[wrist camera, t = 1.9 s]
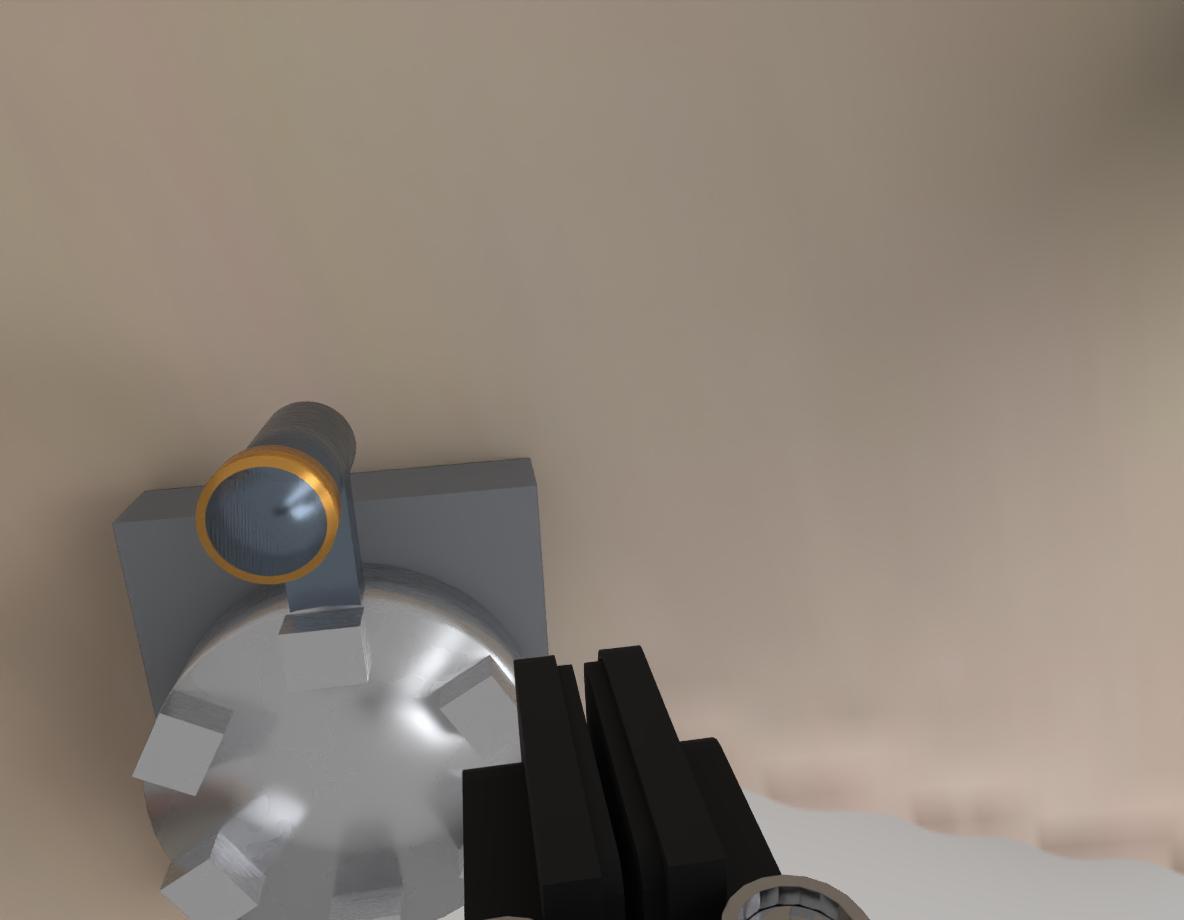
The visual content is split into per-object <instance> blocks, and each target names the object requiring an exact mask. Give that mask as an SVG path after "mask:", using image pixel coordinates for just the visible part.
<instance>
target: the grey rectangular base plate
mask: <svg viewBox="0 0 1184 920" xmlns="http://www.w3.org/2000/svg"><path fill="white" fill-rule="evenodd" d="M350 480H351V487H352V494H353V502H354V509H355V517H356V524H357V531H358V539H359V546H360V553H361V561H362V564H368V565H381V566H390V567H395V568H400V569H405V570H410V571H414V572H417V573H420V574H423V575H426V576H429V577H433V578H436V579H438V580H440V581H442V582H444V583H446V584H448V585H450V586H453V587H455V588H457V589H458V590H460V591H462V592H463V593H465V594H466V595H468V596H469V597H471V598H473V599H474V600H476V601H477V602H478V603H480V604H481V605H482V606H483V607H484V608H485V609H487V610H488V611H489V612H490V613H491V614H493V615H494V616H495V617H496V619H497V620H498V621H499V622H500V623H501V624H502V625H503V626H504V627H505V628H506V630H507V631H508V632H509V633H510V635H511V636H512V638H513V639H514V641H515V642H516V644H517V645H518V647H519V648H520V650H521V652H522V654H523V656H524V658H525V659H526V658H534V657H543V656H549V654H548V639H547V625H546V610H545V596H544V581H543V566H542V552H541V537H540V523H539V508H538V494H537V484H536V480H535V476H534V472H533V468H532V464H531V460H530V458H524V459H513V460H501V461H490V462H478V463H466V464H455V465H443V466H432V467H420V468H408V469H397V470H385V471H373V472H362V473H350ZM204 488H205V486H199V487H188V488H176V489H164V490H153V491H144V492H143V493H142V494H141V495H140V496H139V497H138V498H137V499H136V500H135V501H134V502H133V503H132V504H131V505H130V506H129V507H128V508H127V509H126V510H125V511H124V512H123V513H122V514H121V515H120V516H119V517H118V518H117V519H116V520H115V522H114V523H113V529H114V533H115V538H116V542H117V547H118V551H119V556H120V560H121V564H122V569H123V573H124V578H125V582H126V587H127V591H128V596H129V600H130V605H131V609H132V614H133V618H134V622H135V627H136V631H137V636H138V640H139V645H140V649H141V654H142V658H143V663H144V667H145V672H146V676H147V681H148V685H149V689H150V694H151V698H152V703H153V707H154V712H155V716H156V718H157V716H158V714H159V712H160V710H161V709H162V707H163V705H164V703H165V701H166V699H167V697H168V696H169V694H170V692H171V690H172V688H173V687H174V685H175V683H176V681H177V680H178V678H179V676H180V674H181V672H182V671H183V669H184V667H185V665H186V663H187V662H188V660H189V658H190V656H191V654H192V653H193V651H194V649H195V647H196V646H197V644H198V643H199V642H200V640H201V639H202V638H203V636H204V635H205V634H206V632H207V631H208V630H209V628H210V627H211V626H212V625H213V624H214V623H215V622H216V621H217V620H218V619H219V618H220V617H221V616H222V615H223V614H224V613H225V612H227V611H228V610H229V609H231V608H232V607H233V606H234V605H236V604H237V603H238V602H240V601H241V600H242V599H244V598H245V597H247V596H248V595H250V594H252V593H254V592H255V591H257V590H259V589H261V588H262V587H264V586H266V585H268V584H258V583H253V582H249V581H245V580H242V579H240V578H237V577H235V576H233V575H231V574H230V573H228V572H226V571H225V570H223V569H222V568H221V567H219V566H218V565H217V564H216V563H215V562H214V561H213V560H212V559H211V558H210V556H209V555H208V554H207V553H206V551H205V549H204V548H203V546H202V544H201V541H200V539H199V537H198V533H197V529H196V521H195V518H196V508H197V503H198V500H199V497H200V495H201V493H202V491H203V489H204ZM236 920H244V919H242V918H240V917H239V918H238V919H236Z"/></svg>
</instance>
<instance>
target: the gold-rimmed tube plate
mask: <svg viewBox="0 0 1184 920" xmlns="http://www.w3.org/2000/svg"><path fill="white" fill-rule="evenodd" d="M355 454H356V441H355V436H354V433H353V431H352V429H351V427H350V425H349V424H348V422H347V421H346V420H345V418H344V417H343V416H342V415H341V414H339V413H338V412H337V411H335V410H334V409H332V408H330V407H329V406H326V405H324V404H321V403H316V402H309V401H308V402H296V403H292V404H289V405H287V406H285V407H283V408H281V409H279V410H278V411H277V412H276V413H274V414H273V416H272V417H271V418H270V419H269V420H268V422H267V423H266V424H265V425H264V427H263V428H262V429H261V431H260V432H259V433H258V434H257V436H256V437H255V438H254V440H253V441H252V442H251V443H250V445H249V446H248V447H247V449H246V450H244V451H241V452H239V453H238V454H236V455H234V456H232V457H231V458H230V459H229V460H227V461H226V462H225V463H224V464H223V465H222V466H221V467H220V468H219V470H218V471H217V472H216V473H215V475H214V476H213V477H212V478H211V479H210V481H209V482H208V483H207V485H206V486H205V488H204V489H203V491H202V493H201V495H200V497H199V500H198V503H197V508H196V518H195V521H196V529H197V533H198V537H199V539H200V541H201V544H202V546H203V548H204V549H205V551H206V553H207V554H208V555H209V556H210V558H211V559H212V560H213V561H214V562H215V563H216V564H217V565H218V566H219V567H221V568H222V569H223V570H225V571H226V572H228V573H230V574H231V575H233V576H235V577H237V578H240V579H242V580H245V581H249V582H253V583H258V584H268V585H266V586H264V587H262V588H261V589H259V590H257V591H255V592H254V593H252V594H250V595H248V596H247V597H245V598H244V599H242V600H241V601H240V602H238V603H237V604H236V605H234V606H233V607H232V608H231V609H229V610H228V611H227V612H225V613H224V614H223V615H222V616H221V617H220V618H219V619H218V620H217V621H216V622H215V623H214V624H213V625H212V626H211V627H210V628H209V630H208V631H207V632H206V634H205V635H204V636H203V638H202V639H201V640H200V642H199V643H198V644H197V646H196V647H195V649H194V651H193V653H192V654H191V656H190V658H189V660H188V662H187V663H186V665H185V667H184V669H183V671H182V672H181V674H180V676H179V678H178V680H177V681H176V683H175V685H174V687H173V688H172V690H171V692H170V694H169V696H168V697H167V699H166V701H165V703H164V705H163V707H162V709H161V710H160V712H159V714H158V716H157V718H156V720H155V723H154V726H153V729H152V731H151V734H150V736H149V739H148V741H147V743H146V745H145V748H144V750H143V752H142V755H141V757H140V759H139V761H138V764H137V766H136V768H135V770H134V773H133V775H132V777H135V778H138V779H141V780H144V793H145V800H146V806H147V811H148V814H149V817H150V820H151V823H152V826H153V830H154V832H155V834H156V836H157V838H158V840H159V842H160V844H161V846H162V848H163V850H164V851H165V853H166V854H167V856H168V857H169V859H170V860H171V861H172V862H171V864H170V867H169V869H168V871H167V874H166V876H165V879H164V881H163V883H162V886H161V888H160V890H159V892H161V893H162V894H163V895H164V896H165V897H166V898H167V899H168V900H169V901H170V902H172V903H173V904H174V905H175V906H176V907H177V908H178V909H179V910H180V911H181V912H183V913H184V914H185V915H186V916H187V917H188V918H189V919H190V920H236V919H238V918H239V917H240V918H242V919H244V920H437V919H439V918H442V917H444V916H446V915H447V914H449V913H451V912H453V911H455V910H457V909H458V908H460V907H462V906H464V857H463V796H462V771H463V770H465V769H473V768H480V767H488V766H496V765H503V764H511V763H519V762H521V750H520V738H519V726H518V714H517V702H516V690H515V678H514V664H513V660H517V659H525V658H524V656H523V654H522V652H521V650H520V648H519V647H518V645H517V644H516V642H515V641H514V639H513V638H512V636H511V635H510V633H509V632H508V631H507V630H506V628H505V627H504V626H503V625H502V624H501V623H500V622H499V621H498V620H497V619H496V617H495V616H494V615H493V614H491V613H490V612H489V611H488V610H487V609H485V608H484V607H483V606H482V605H481V604H480V603H478V602H477V601H476V600H474V599H473V598H471V597H469V596H468V595H466V594H465V593H463V592H462V591H460V590H458V589H457V588H455V587H453V586H450V585H448V584H446V583H444V582H442V581H440V580H438V579H436V578H433V577H429V576H426V575H423V574H420V573H417V572H414V571H410V570H405V569H400V568H395V567H390V566H381V565H368V564H362V561H361V553H360V546H359V539H358V531H357V524H356V517H355V509H354V502H353V494H352V487H351V480H350V470H351V467H352V464H353V461H354V458H355Z"/></svg>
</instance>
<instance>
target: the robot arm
mask: <svg viewBox="0 0 1184 920" xmlns="http://www.w3.org/2000/svg"><path fill="white" fill-rule="evenodd" d="M513 664H514V678H515V690H516V702H517V714H518V726H519V738H520V750H521V762H519V763H511V764H503V765H496V766H488V767H480V768H473V769H465V770H463V771H462V796H463V857H464V912H465V913H464V915H465V916H464V917H465V920H870V919H869V918H868V917H867V915H866V914H865V913H864V912H863V910H862V909H861V908H860V907H859V906H857V904H856V903H854V901H853V900H851V899H850V898H849V897H848V896H847V895H846V894H844V893H842V892H841V891H839V890H837V889H836V888H834V887H832V886H831V885H829V884H827V883H824V882H821V881H817V880H814V879H811V878H808V877H804V876H793V875H781V872H780V870H779V868H778V866H777V864H776V862H775V860H774V858H773V856H772V853H771V851H770V849H769V847H768V845H767V843H766V841H765V839H764V836H763V834H762V832H761V830H760V828H759V826H758V824H757V822H756V819H755V817H754V815H753V813H752V811H751V809H750V807H749V805H748V802H747V800H746V798H745V796H744V794H743V792H742V790H741V788H740V786H739V783H738V781H737V779H736V777H735V775H734V773H733V771H732V769H731V766H730V764H729V762H728V760H727V758H726V756H725V754H724V752H723V749H722V747H721V746H720V744H719V742H718V741H717V739H715V738H713V737H711V738H703V739H696V740H688V741H680V742H679V739H678V737H677V734H676V732H675V729H674V727H673V724H672V722H671V719H670V717H669V714H668V712H667V709H666V707H665V704H664V702H663V699H662V697H661V694H660V692H659V690H658V687H657V685H656V682H655V680H654V677H653V675H652V672H651V670H650V667H649V665H648V662H647V660H646V657H645V655H644V652H643V650H642V648H641V646H639V645H638V646H629V647H621V648H612V649H603V650H599V652H598V661H596V662H587V663H584V681H585V699H586V717H587V723H586V719H585V715H584V711H583V707H582V703H581V699H580V695H579V691H578V687H577V683H576V679H575V675H574V670H573V667H572V665H571V664H570V665H562V666H557V664H556V659H555V656H554V655H551V656H543V657H534V658H526V659H517V660H513Z"/></svg>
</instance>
